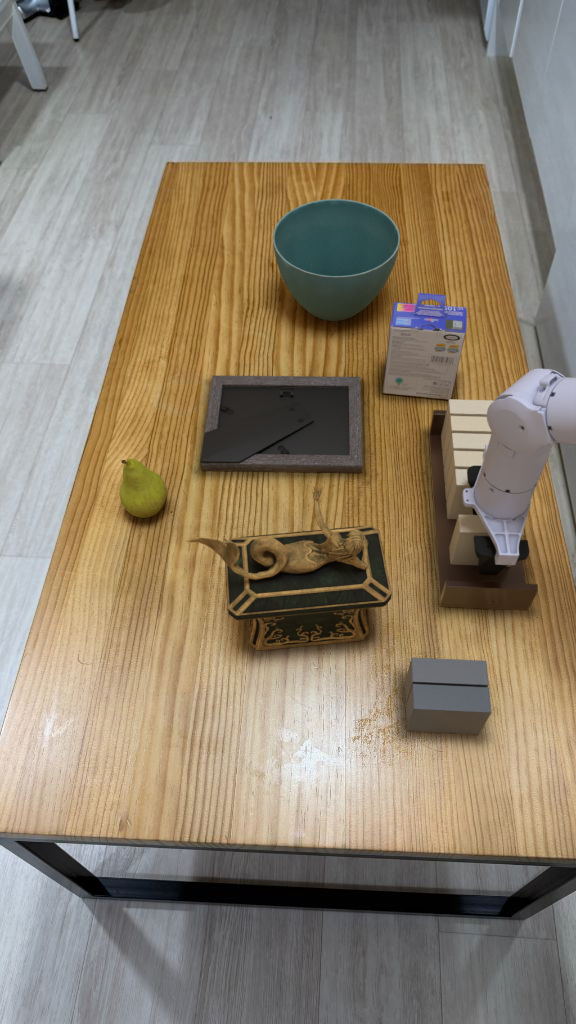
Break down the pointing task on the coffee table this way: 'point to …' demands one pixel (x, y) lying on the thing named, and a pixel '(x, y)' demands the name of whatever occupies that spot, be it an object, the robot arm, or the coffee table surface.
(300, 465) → the picture frame
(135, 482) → the fruit
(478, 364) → the coffee table surface
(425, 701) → the grey books
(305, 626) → the decorative box
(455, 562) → the cream book
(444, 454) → the cream books
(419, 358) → the ink cartridge box
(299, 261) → the teal bowl
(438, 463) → the book rack
